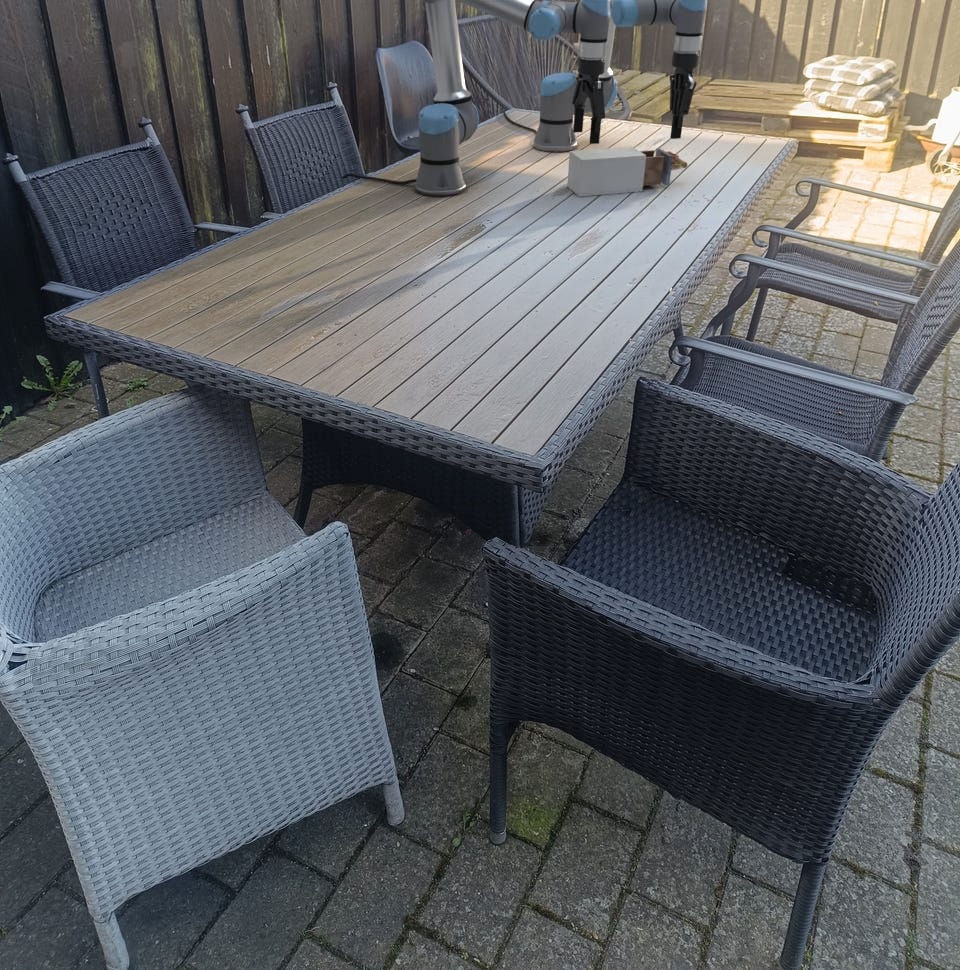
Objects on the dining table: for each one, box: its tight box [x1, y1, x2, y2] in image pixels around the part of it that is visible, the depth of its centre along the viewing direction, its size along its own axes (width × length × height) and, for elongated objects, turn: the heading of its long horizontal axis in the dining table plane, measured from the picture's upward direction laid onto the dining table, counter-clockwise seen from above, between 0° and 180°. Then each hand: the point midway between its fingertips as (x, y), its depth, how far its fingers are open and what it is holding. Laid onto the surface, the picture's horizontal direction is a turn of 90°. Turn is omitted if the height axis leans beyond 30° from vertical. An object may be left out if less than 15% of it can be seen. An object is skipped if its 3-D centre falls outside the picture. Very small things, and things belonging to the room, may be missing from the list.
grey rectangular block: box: [567, 146, 646, 197], centre depth 256 cm, size 20×10×11 cm, turn 105°
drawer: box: [639, 148, 688, 187], centre depth 259 cm, size 26×9×9 cm, turn 105°
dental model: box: [666, 151, 681, 168], centre depth 279 cm, size 6×4×8 cm
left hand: (585, 137), depth 249 cm, fingers open, 13 cm apart
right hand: (675, 138), depth 256 cm, fingers closed
